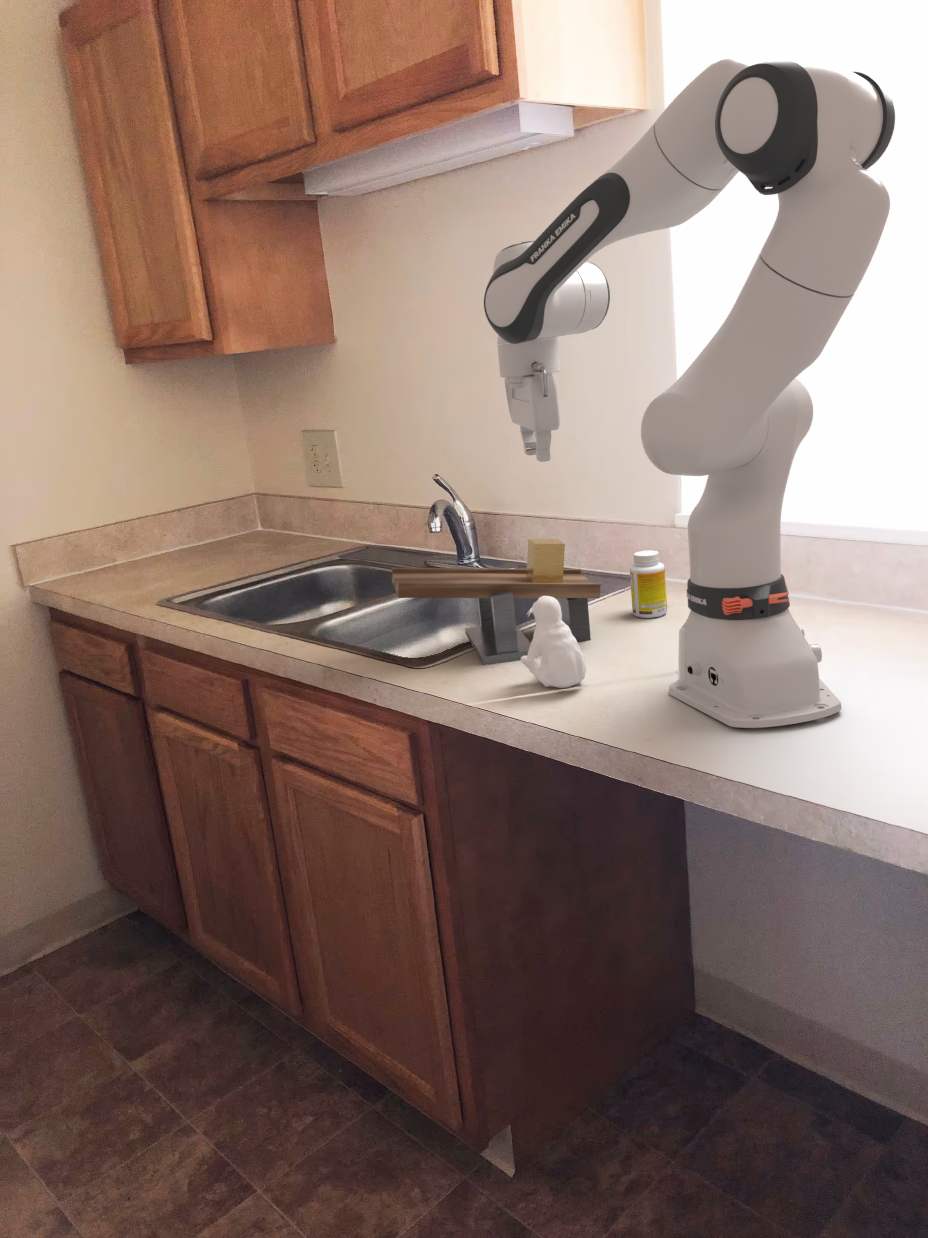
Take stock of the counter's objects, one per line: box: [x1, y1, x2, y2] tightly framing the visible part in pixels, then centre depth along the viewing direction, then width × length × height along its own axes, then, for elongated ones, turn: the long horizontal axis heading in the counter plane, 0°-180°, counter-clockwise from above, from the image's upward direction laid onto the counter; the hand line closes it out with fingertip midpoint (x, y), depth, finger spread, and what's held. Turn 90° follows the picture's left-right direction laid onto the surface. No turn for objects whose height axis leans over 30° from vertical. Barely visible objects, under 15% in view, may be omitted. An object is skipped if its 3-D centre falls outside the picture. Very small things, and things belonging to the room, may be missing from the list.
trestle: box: [464, 591, 592, 666], centre depth 154 cm, size 17×18×10 cm
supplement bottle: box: [629, 549, 668, 619], centre depth 162 cm, size 6×6×10 cm
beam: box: [391, 567, 601, 599], centre depth 153 cm, size 12×30×3 cm, turn 99°
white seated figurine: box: [520, 596, 587, 689], centre depth 134 cm, size 6×8×12 cm
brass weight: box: [526, 538, 566, 583], centre depth 153 cm, size 5×5×6 cm
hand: (537, 457), depth 149 cm, fingers open, 8 cm apart
